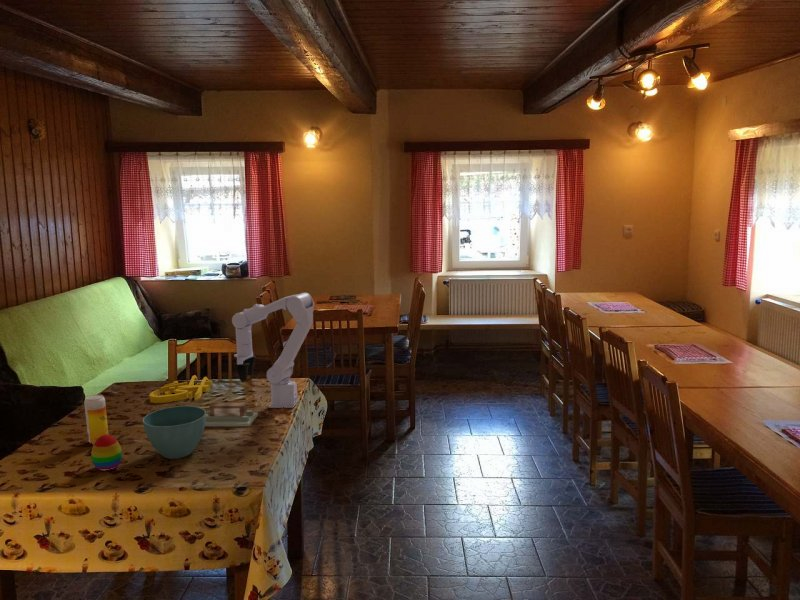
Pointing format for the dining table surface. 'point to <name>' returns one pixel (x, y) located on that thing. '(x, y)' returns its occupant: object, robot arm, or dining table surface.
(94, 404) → the yellow bottle
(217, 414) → the brown box
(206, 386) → the decorative art
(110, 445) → the decorative egg
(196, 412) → the teal bowl
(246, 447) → the dining table surface
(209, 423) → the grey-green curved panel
